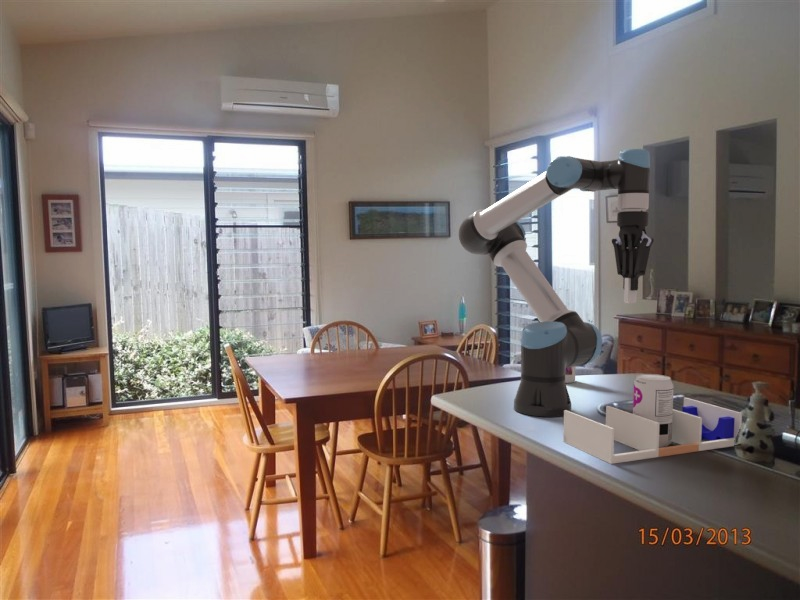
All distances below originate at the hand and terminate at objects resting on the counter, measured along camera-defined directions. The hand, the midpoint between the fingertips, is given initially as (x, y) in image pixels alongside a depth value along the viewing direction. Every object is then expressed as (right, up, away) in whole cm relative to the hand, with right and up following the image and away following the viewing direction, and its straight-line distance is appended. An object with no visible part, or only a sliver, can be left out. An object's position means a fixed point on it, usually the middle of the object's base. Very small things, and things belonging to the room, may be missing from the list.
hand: (630, 302), depth 165 cm
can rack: (-3, -31, -23) cm, 39 cm away
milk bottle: (-6, -26, +45) cm, 52 cm away
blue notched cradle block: (+11, -31, -18) cm, 38 cm away
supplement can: (-3, -31, -22) cm, 39 cm away
